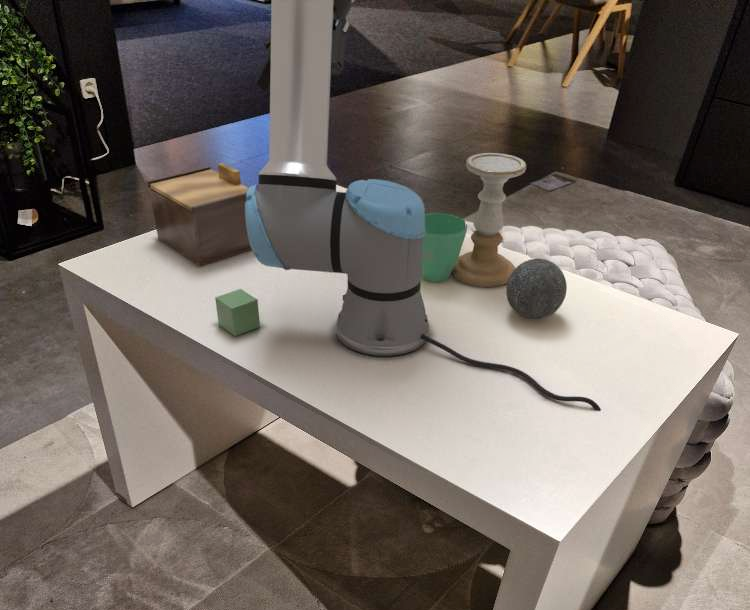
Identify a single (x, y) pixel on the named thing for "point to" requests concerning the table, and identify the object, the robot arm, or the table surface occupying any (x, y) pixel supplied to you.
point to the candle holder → (488, 222)
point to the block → (237, 312)
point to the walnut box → (201, 224)
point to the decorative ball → (536, 289)
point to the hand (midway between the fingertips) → (282, 95)
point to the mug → (441, 245)
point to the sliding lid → (202, 186)
